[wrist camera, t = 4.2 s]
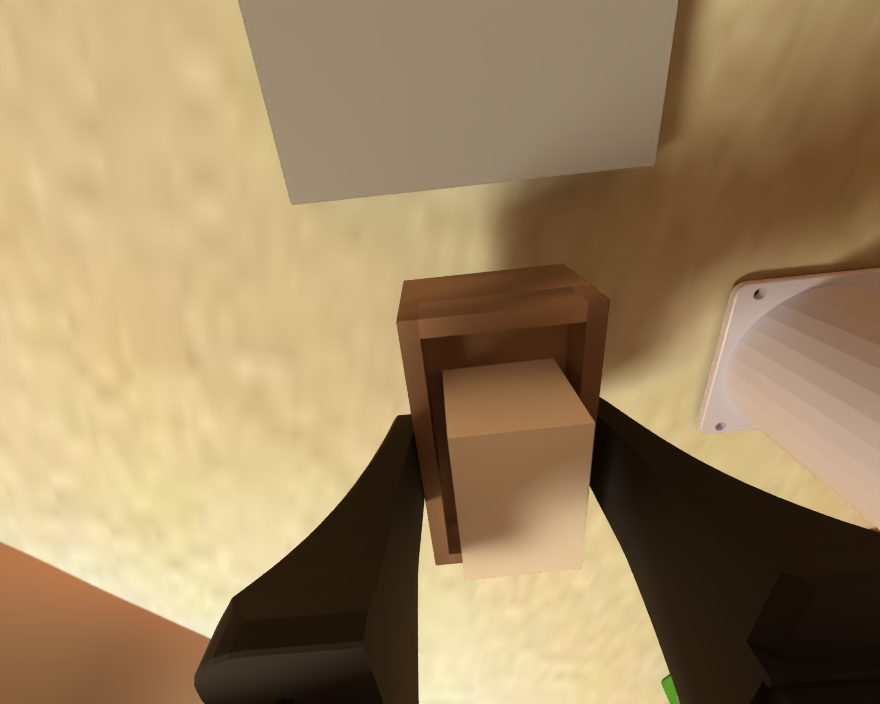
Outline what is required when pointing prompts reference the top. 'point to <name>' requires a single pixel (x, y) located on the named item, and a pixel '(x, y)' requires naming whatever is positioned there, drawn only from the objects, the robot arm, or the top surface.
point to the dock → (457, 90)
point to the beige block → (518, 467)
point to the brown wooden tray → (490, 356)
